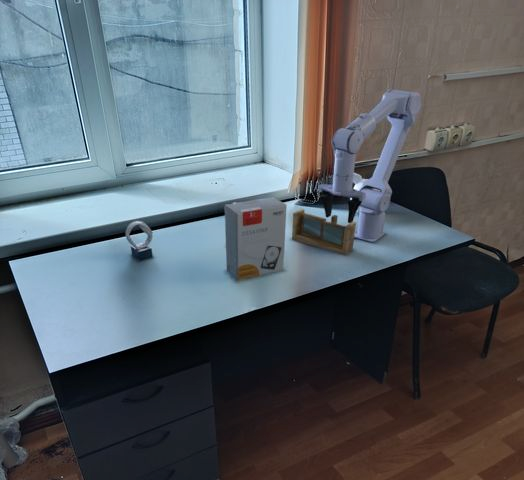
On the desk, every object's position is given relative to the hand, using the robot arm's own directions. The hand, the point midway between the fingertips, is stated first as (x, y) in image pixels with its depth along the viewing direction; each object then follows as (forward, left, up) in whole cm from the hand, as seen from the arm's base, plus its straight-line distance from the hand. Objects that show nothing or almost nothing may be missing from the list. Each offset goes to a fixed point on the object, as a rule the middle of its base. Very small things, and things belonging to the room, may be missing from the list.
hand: (339, 219), depth 148 cm
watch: (+40, -46, -10) cm, 62 cm away
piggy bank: (-34, -8, -10) cm, 36 cm away
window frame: (-1, -6, -10) cm, 12 cm away
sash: (0, -2, -9) cm, 9 cm away
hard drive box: (+27, -12, -10) cm, 31 cm away
